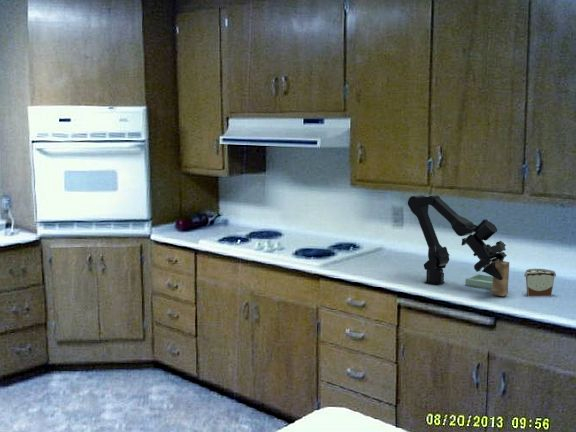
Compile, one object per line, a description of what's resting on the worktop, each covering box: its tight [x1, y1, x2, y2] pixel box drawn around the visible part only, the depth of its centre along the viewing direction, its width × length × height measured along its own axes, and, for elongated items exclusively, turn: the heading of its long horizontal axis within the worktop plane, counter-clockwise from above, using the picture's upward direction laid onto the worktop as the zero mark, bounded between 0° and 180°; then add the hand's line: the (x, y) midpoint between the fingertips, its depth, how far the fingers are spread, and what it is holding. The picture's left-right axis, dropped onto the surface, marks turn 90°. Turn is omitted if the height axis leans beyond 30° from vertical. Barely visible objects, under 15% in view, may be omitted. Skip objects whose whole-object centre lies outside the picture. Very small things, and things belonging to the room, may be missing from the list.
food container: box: [523, 268, 557, 298], centre depth 258 cm, size 12×6×10 cm, turn 92°
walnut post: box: [491, 260, 510, 297], centre depth 256 cm, size 4×4×13 cm
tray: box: [464, 273, 493, 291], centre depth 273 cm, size 12×12×3 cm
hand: (504, 278), depth 255 cm, fingers closed on walnut post, 4 cm apart
